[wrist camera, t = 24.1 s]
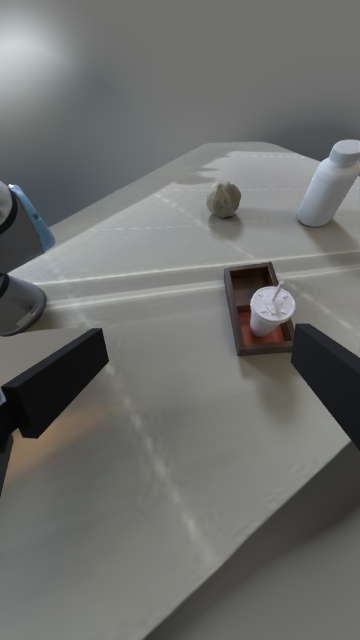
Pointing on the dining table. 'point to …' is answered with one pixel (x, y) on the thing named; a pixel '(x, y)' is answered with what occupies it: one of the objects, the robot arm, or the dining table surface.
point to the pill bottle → (330, 184)
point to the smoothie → (270, 309)
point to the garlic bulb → (223, 199)
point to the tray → (239, 294)
